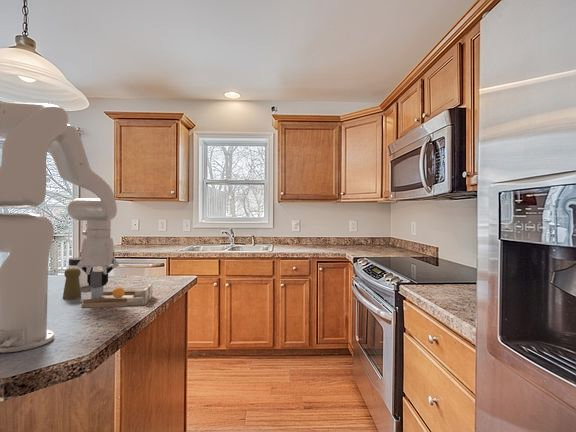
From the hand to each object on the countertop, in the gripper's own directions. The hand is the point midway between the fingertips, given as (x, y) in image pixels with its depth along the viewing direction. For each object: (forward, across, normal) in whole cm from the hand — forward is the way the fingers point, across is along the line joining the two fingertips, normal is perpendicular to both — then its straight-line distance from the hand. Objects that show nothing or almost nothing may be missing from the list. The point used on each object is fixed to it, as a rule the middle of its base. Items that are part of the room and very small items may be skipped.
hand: (97, 284), depth 120 cm
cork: (+6, -12, +8) cm, 15 cm away
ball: (+3, +7, 0) cm, 8 cm away
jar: (+6, -18, +30) cm, 35 cm away
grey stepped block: (+5, 0, 0) cm, 5 cm away
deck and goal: (+6, +8, 0) cm, 11 cm away
